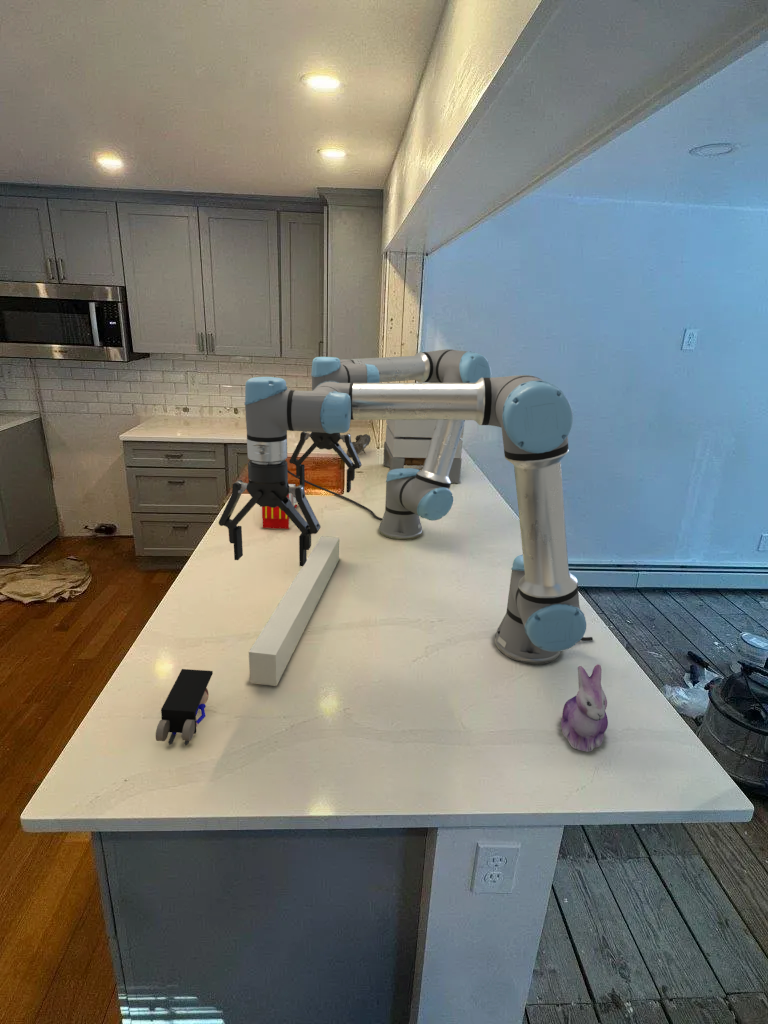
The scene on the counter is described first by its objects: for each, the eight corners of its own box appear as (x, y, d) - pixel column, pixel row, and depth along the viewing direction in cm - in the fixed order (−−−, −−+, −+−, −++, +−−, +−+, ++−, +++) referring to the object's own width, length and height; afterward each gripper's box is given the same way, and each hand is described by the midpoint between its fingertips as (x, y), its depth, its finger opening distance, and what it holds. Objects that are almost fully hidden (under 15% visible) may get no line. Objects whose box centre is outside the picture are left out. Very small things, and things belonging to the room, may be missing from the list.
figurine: (585, 761, 101) (600, 692, 96) (546, 725, 110) (557, 659, 104) (622, 745, 105) (638, 678, 100) (581, 712, 114) (594, 648, 109)
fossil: (346, 440, 316) (367, 425, 311) (357, 453, 319) (378, 438, 314) (340, 453, 296) (362, 438, 291) (351, 468, 299) (374, 452, 294)
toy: (301, 479, 224) (291, 492, 194) (301, 512, 226) (291, 530, 197) (270, 478, 223) (256, 491, 194) (271, 511, 226) (256, 529, 197)
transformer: (382, 463, 289) (386, 382, 275) (445, 464, 293) (451, 384, 279) (390, 482, 257) (394, 392, 243) (460, 483, 261) (468, 394, 247)
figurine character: (195, 758, 100) (216, 696, 113) (191, 727, 96) (213, 666, 110) (157, 758, 99) (182, 695, 113) (151, 726, 96) (178, 666, 110)
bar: (321, 558, 178) (321, 535, 176) (339, 559, 177) (339, 537, 175) (249, 683, 118) (248, 651, 116) (276, 686, 118) (275, 654, 115)
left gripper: (277, 415, 153) (279, 489, 160) (368, 420, 150) (366, 496, 158) (285, 410, 160) (286, 482, 167) (372, 416, 157) (370, 488, 165)
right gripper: (197, 460, 107) (204, 562, 114) (326, 469, 104) (326, 574, 111) (213, 450, 114) (219, 548, 121) (335, 459, 111) (334, 558, 118)
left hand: (325, 489), depth 163 cm, fingers open, 13 cm apart
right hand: (270, 560), depth 116 cm, fingers open, 13 cm apart
